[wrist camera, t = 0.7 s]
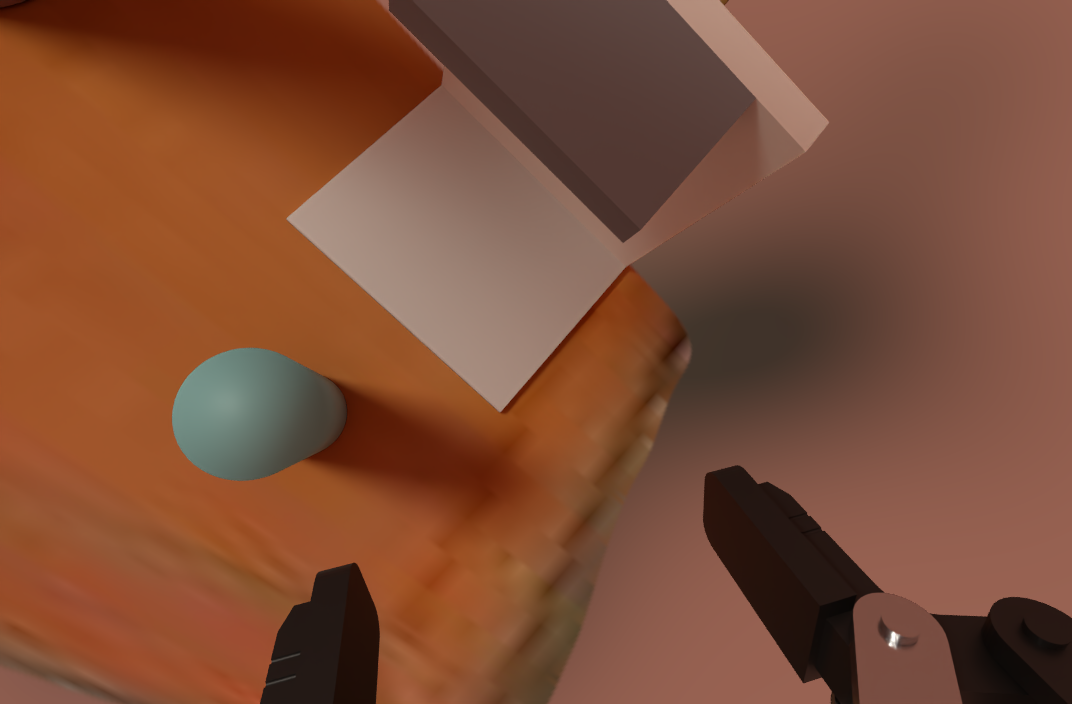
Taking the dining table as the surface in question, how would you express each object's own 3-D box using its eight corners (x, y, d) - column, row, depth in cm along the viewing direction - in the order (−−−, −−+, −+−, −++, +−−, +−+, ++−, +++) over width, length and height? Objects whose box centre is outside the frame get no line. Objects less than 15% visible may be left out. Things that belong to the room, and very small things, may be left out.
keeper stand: (287, 220, 32) (167, 7, 15) (460, 71, 36) (516, -226, 19) (499, 412, 34) (599, 410, 17) (639, 250, 38) (829, 122, 21)
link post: (237, 417, 30) (138, 419, 18) (302, 355, 31) (247, 321, 20) (304, 473, 31) (248, 508, 19) (364, 409, 32) (346, 407, 20)
